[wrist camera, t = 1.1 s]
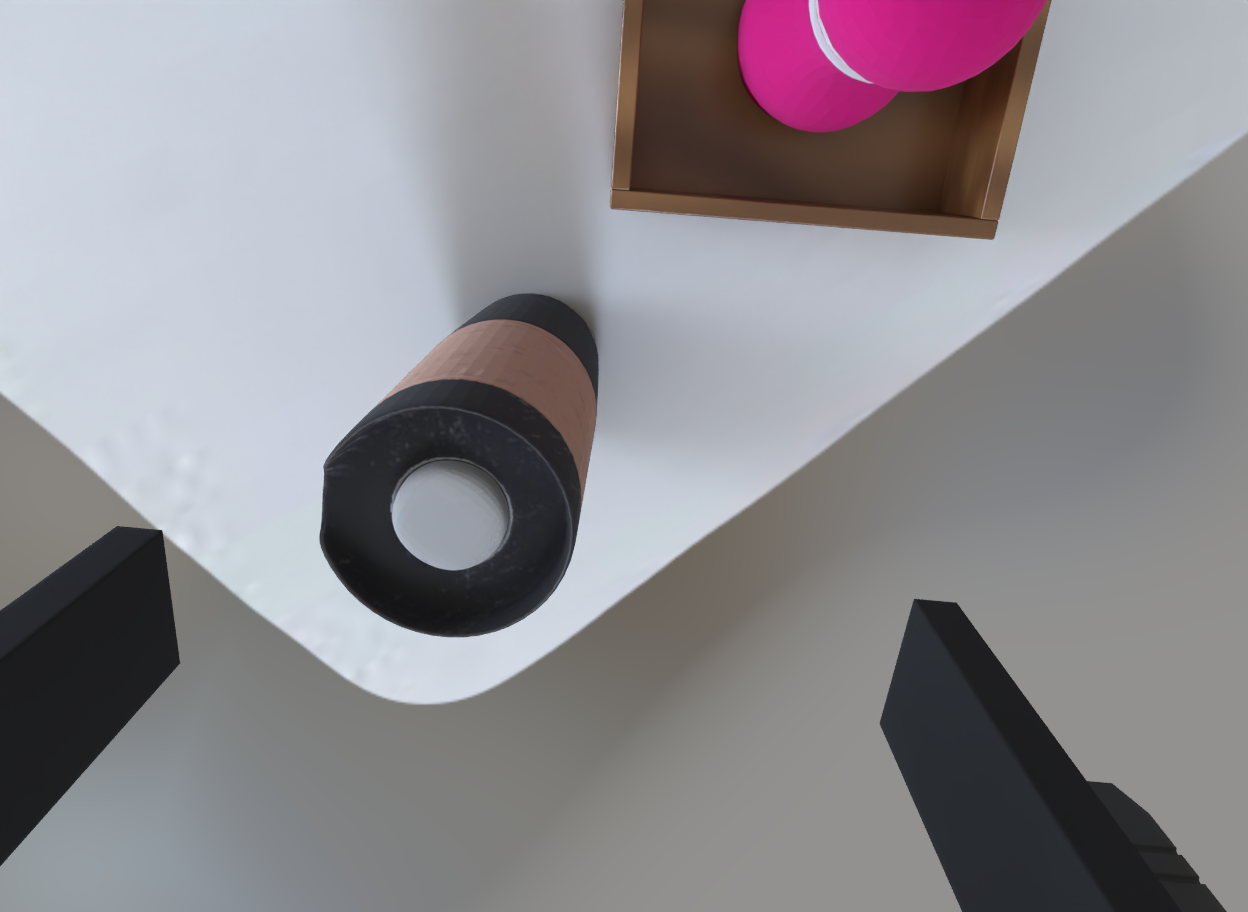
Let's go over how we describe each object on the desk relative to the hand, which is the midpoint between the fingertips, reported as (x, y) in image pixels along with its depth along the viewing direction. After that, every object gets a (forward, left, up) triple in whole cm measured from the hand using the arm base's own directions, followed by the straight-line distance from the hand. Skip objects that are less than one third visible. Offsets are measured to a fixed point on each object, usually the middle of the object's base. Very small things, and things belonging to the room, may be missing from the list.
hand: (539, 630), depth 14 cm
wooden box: (-13, +9, -28) cm, 32 cm away
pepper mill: (-13, +9, -28) cm, 32 cm away
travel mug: (+2, -3, -28) cm, 28 cm away
